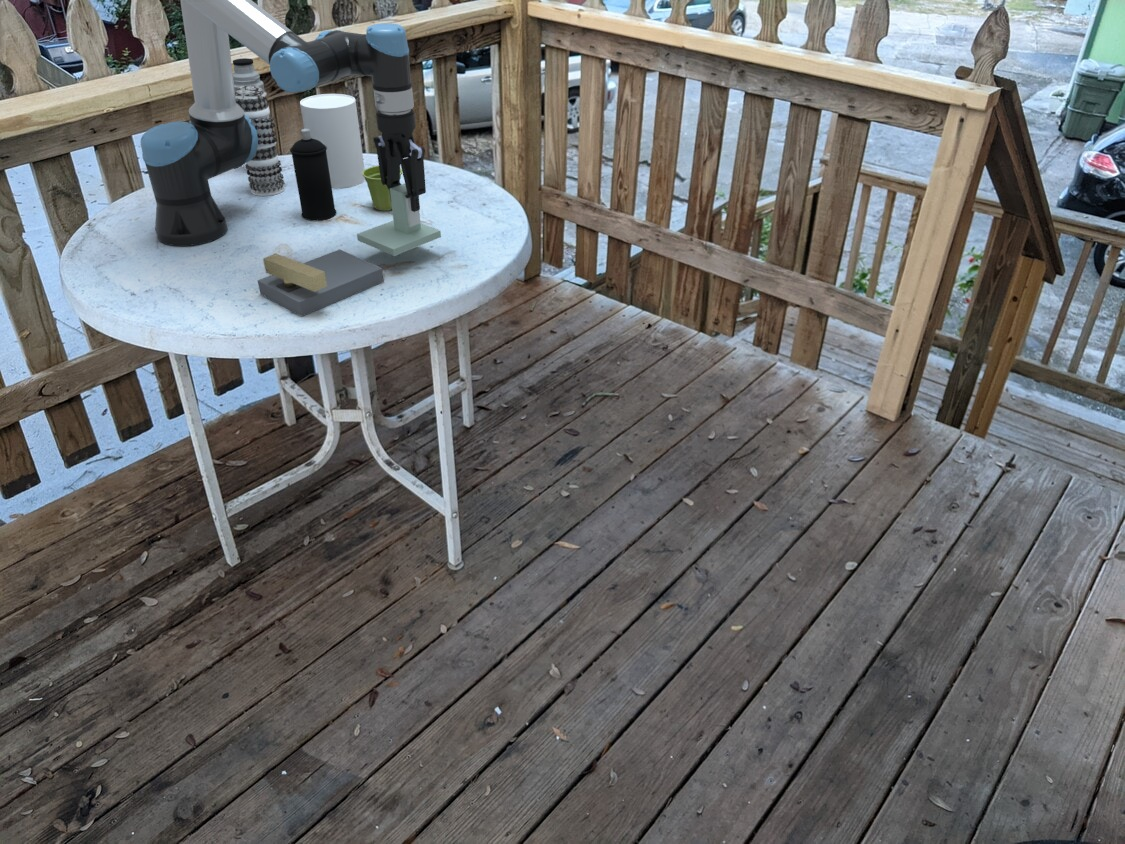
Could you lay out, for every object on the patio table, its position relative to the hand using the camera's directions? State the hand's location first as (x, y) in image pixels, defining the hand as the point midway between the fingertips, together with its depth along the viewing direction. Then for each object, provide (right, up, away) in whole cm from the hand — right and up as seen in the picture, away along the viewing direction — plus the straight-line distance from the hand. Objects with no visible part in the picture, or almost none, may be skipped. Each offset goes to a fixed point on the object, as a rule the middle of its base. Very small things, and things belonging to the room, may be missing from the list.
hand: (407, 221), depth 183 cm
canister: (-25, +21, +41) cm, 53 cm away
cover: (-2, -4, 0) cm, 4 cm away
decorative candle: (-42, +16, +35) cm, 57 cm away
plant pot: (-10, +10, +26) cm, 30 cm away
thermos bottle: (-47, +25, +47) cm, 71 cm away
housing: (-15, -16, -10) cm, 24 cm away
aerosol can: (-25, +7, +22) cm, 34 cm away
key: (-18, -17, -17) cm, 30 cm away
